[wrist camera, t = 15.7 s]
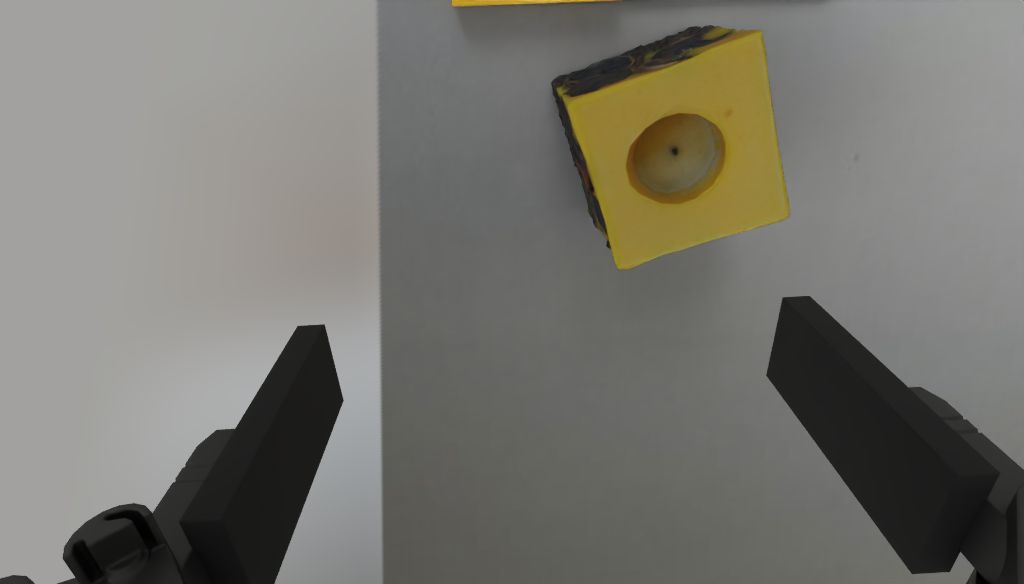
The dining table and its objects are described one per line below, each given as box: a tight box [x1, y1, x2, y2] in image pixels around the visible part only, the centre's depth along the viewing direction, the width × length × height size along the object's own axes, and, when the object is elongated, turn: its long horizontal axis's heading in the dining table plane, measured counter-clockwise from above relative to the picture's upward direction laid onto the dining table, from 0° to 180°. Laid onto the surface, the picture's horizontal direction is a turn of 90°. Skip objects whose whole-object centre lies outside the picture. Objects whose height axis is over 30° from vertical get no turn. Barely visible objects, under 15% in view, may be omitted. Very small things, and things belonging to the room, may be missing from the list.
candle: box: [552, 25, 790, 270], centre depth 32 cm, size 10×10×10 cm
